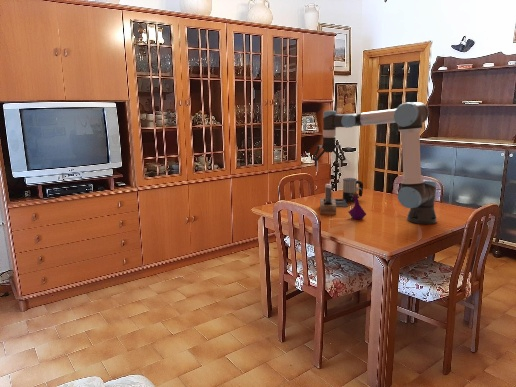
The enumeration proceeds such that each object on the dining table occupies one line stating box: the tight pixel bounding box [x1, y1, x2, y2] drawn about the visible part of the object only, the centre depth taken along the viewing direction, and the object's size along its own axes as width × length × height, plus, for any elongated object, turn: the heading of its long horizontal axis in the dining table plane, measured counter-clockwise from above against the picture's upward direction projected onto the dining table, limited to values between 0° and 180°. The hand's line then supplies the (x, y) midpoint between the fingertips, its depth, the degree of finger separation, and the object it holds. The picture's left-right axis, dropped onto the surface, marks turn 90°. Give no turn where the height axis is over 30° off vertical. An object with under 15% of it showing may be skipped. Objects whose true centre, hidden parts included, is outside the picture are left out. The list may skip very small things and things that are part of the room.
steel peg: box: [324, 183, 332, 188], centre depth 249 cm, size 4×4×14 cm
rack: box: [319, 197, 337, 216], centre depth 246 cm, size 18×9×6 cm, turn 172°
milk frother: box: [342, 177, 364, 203], centre depth 273 cm, size 14×16×15 cm
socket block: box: [334, 198, 349, 208], centre depth 260 cm, size 10×10×3 cm
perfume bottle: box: [348, 187, 367, 221], centre depth 227 cm, size 8×8×18 cm
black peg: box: [324, 186, 333, 205], centre depth 241 cm, size 4×4×14 cm
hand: (328, 171), depth 246 cm, fingers open, 13 cm apart
